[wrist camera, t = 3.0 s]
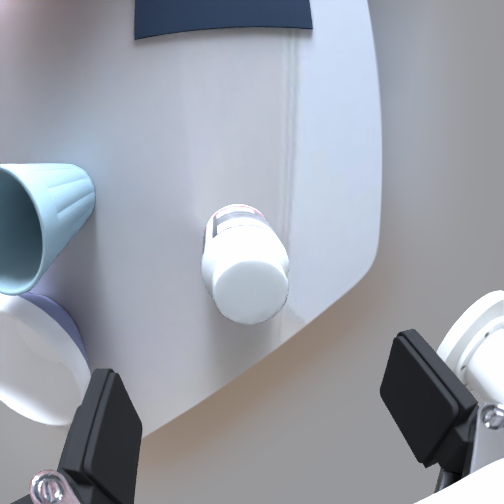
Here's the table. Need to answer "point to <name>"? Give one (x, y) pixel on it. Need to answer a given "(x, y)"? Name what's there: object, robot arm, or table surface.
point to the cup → (38, 218)
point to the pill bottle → (244, 265)
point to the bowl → (41, 360)
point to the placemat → (217, 15)
